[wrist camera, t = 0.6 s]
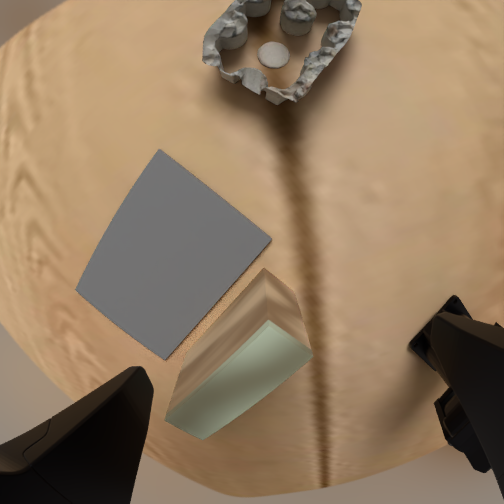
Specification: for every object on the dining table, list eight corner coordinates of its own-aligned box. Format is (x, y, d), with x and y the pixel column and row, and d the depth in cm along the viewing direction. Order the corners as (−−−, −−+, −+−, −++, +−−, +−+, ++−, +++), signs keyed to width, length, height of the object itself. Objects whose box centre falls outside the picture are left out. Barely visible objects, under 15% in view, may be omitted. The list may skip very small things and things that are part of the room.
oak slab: (294, 291, 21) (313, 356, 14) (215, 369, 23) (202, 440, 16) (263, 267, 21) (268, 325, 13) (186, 351, 23) (164, 420, 15)
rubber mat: (271, 238, 20) (271, 239, 20) (165, 358, 23) (164, 360, 23) (160, 149, 18) (158, 149, 18) (76, 288, 21) (75, 289, 21)
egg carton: (289, 120, 18) (298, 109, 14) (198, 69, 17) (184, 49, 13) (360, 23, 15) (379, 1, 11) (277, -22, 14) (280, -50, 10)
